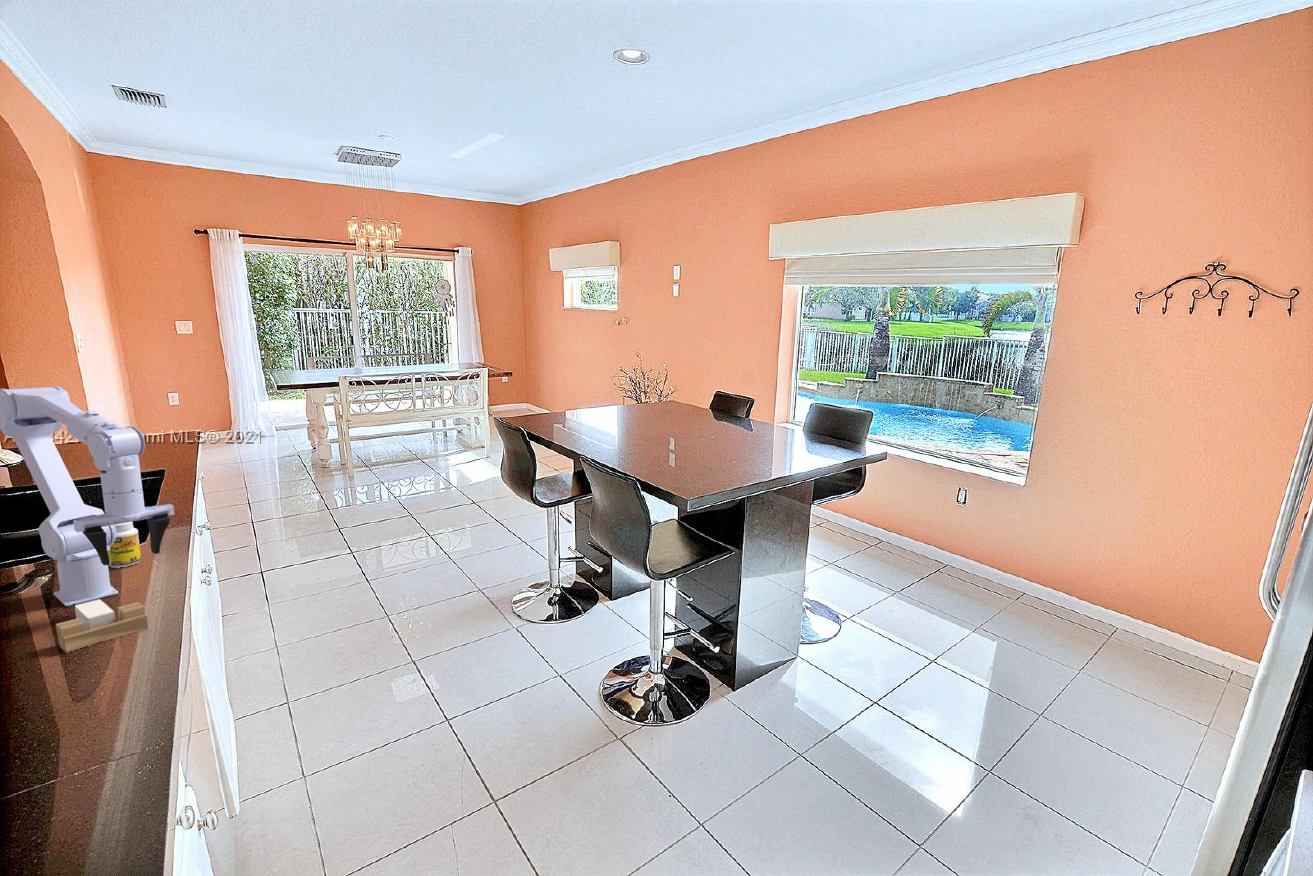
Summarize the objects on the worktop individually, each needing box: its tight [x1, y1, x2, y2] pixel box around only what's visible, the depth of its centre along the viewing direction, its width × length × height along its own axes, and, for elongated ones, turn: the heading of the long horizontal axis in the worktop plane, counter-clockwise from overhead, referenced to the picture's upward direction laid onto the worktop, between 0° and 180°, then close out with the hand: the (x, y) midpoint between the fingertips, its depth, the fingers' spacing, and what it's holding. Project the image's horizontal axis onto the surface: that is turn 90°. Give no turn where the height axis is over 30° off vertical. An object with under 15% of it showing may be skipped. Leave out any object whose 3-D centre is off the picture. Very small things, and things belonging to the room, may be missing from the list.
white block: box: [74, 598, 117, 631], centre depth 109 cm, size 9×4×4 cm, turn 56°
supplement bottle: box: [107, 521, 142, 569], centre depth 138 cm, size 6×6×10 cm
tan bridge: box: [55, 602, 149, 654], centre depth 107 cm, size 4×11×4 cm, turn 146°
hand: (131, 558), depth 116 cm, fingers open, 7 cm apart
